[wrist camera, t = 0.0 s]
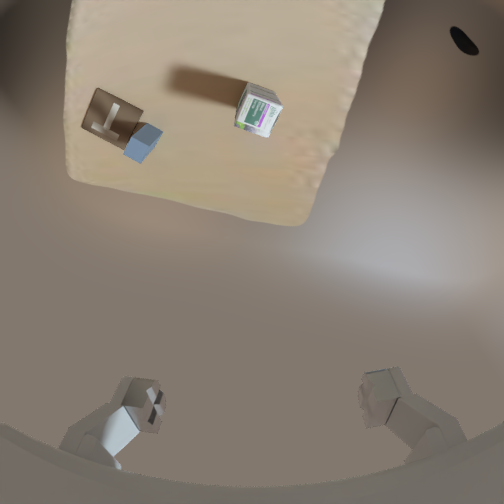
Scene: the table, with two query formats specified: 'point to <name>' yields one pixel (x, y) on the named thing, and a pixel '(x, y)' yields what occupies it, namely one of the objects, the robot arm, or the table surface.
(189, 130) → the table surface
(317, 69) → the table surface
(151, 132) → the slate block
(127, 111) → the letter card
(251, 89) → the syrup box
